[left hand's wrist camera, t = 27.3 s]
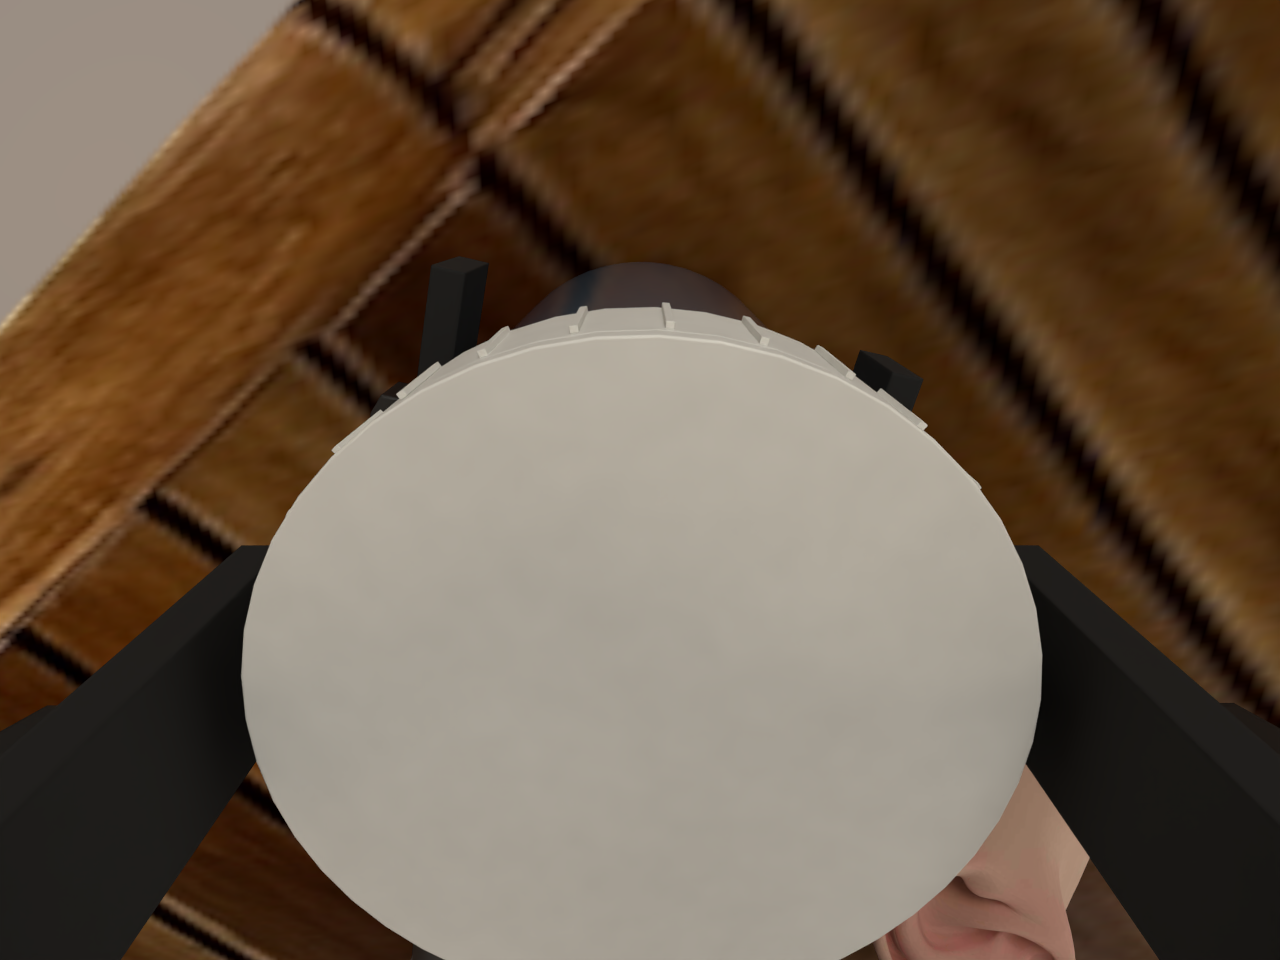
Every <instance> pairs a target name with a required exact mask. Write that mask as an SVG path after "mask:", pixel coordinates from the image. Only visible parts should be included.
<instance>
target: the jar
mask: <svg viewBox="0 0 1280 960" xmlns="http://www.w3.org/2000/svg"><path fill="white" fill-rule="evenodd" d="M662 303H670V306H671V309H679V310H689V311H699V312H707V313H711V314H715V315H719V316H723V317H727V318H731V319H736V320H740V321H742V318H743V316H747V317H750V318H751V319H752V320H753V321H754V322H755V323H756V324H757V325H758V326H760V327H763V328H766V329H768V328H767V327H766V326H765V325H764V324H763V323H762V322H761V321H760V320H759V319H758V318H757V317H756V316H755V315H754V314H753V313H752V312H751V311H750V310H749V309H748V308H747V307H746V306H745V305H744V304H743V303H742V302H741V301H740V300H739V299H738V298H737V297H736V296H734V295H733V294H732V293H730V292H729V291H728V290H726V289H725V288H724V287H722V286H721V285H719V284H717V283H716V282H714V281H712V280H710V279H708V278H707V277H705V276H703V275H700V274H697V273H695V272H692V271H690V270H687V269H684V268H680V267H676V266H672V265H668V264H660V263H650V262H633V263H621V264H615V265H610V266H605V267H601V268H598V269H595V270H592V271H589V272H586V273H584V274H582V275H580V276H577V277H575V278H573V279H571V280H569V281H567V282H566V283H564V284H563V285H561V286H560V287H558V288H557V289H555V290H554V291H552V292H551V293H550V294H549V295H547V296H546V297H545V298H544V299H543V300H542V301H541V302H539V303H538V304H537V305H536V306H535V307H534V308H533V309H532V310H531V311H530V312H529V313H528V314H527V315H526V316H525V317H524V318H523V319H522V320H521V321H520V322H519V323H518V324H517V325H516V327H515V328H514V329H518V328H521V327H524V326H527V325H531V324H534V323H537V322H540V321H543V320H547V319H550V318H553V317H557V316H563V315H569V314H575V313H577V311H578V309H579V308H580V307H582V306H587V308H588V311H594V310H600V309H609V308H641V307H659V308H662ZM514 329H513V330H514ZM768 330H769V329H768Z"/></svg>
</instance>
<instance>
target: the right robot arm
mask: <svg viewBox="0 0 1280 960" xmlns="http://www.w3.org/2000/svg"><path fill="white" fill-rule="evenodd" d="M488 265H489V263H486V262H482V261H477V260H473V259H469V258H464V257H460V256H459V257H456V258H452V259H449V260H446V261H443V262H440V263H437V264H433V265H431V273H430V281H429V289H428V297H427V304H426V312H425V320H424V328H423V336H422V344H421V352H420V360H419V368H418V376H419V375H421V374H422V373H423V372H424V371H426V370H427V369H428V368H429V367H431V366H432V365H433V364H435V363H436V362H439V364H440V365H441V367H442V366H443V365H445V364H446V363H448V362H449V361H451V360H453V359H454V358H456V357H457V356H459V355H460V354H462V353H463V352H465V351H467V350H469V349H471V348H474V347H476V344H477V337H478V331H479V324H480V318H481V311H482V305H483V298H484V291H485V285H486V278H487V272H488ZM853 372H854V373H855V374H856V375H855V376H856V377H857V378H859V379H860V380H861V381H862V382H864V383H865V384H866V385H868V386H869V387H870V388H872V389H873V390H874V391H876V392H878V391H879V390H880V389H883V390H884V391H885V392H886V393H888V394H889V395H890V396H891V397H893V398H894V399H895V400H897V401H898V402H899V403H900V404H902V405H903V406H904V407H906V408H907V409H908V410H909V411H911V412H912V409H913V406H914V403H915V401H916V398H917V395H918V393H919V390H920V387H921V384H922V382H923V379H922V378H921V377H919V376H917V375H916V374H914V373H913V372H911V371H910V370H908V369H906V368H905V367H903V366H902V365H900V364H898V363H897V362H895V361H894V360H892V359H891V358H889V357H887V356H884V355H879V354H875V353H871V352H867V351H862V350H860V352H859V355H858V358H857V361H856V364H855V367H854V370H853ZM418 376H417V377H418ZM407 385H408V384H406V383H402V382H398V383H397V384H395V385H394V386H393V387H391V388H390V389H389V390H387V391H386V392H385V393H383V394H382V395H381V396H380V398H379V400H378V402H377V403H376V405H375V407H374V408H373V410H372V412H371V417H372V416H373V415H374V414H375V413H377V412H378V411H379V410H382V411H383V412H384V411H385V410H386V409H387V408H389V407H390V406H391V405H392V404H393V403H395V402H396V401H397V400H398V399H399V397H398V396H397V395H396V394H397V393H398V392H399V391H401V390H402V389H403V388H404V387H406V386H407ZM371 417H370V418H371ZM411 960H444V959H442V958H440V957H438V956H436V955H434V954H432V953H429V952H427V951H425V950H423V949H421V948H420V947H418V946H416V945H415V944H413V950H412V957H411Z"/></svg>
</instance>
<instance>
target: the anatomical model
mask: <svg viewBox="0 0 1280 960" xmlns="http://www.w3.org/2000/svg"><path fill="white" fill-rule="evenodd" d="M1089 858H1090V857H1089V856H1088V854H1087V853H1086V852H1085V850H1084V849H1083V847H1082V846H1081V844H1080V843H1079V841H1078V840H1077V838H1076V837H1075V835H1074V834H1073V833H1072V831H1071V830H1070V828H1069V827H1068V825H1067V824H1066V822H1065V821H1064V819H1063V818H1062V816H1061V815H1060V813H1059V812H1058V811H1057V809H1056V808H1055V806H1054V805H1053V803H1052V802H1051V800H1050V799H1049V797H1048V796H1047V794H1046V793H1045V792H1044V790H1043V789H1042V787H1041V786H1040V784H1039V783H1038V781H1037V780H1036V778H1035V777H1034V775H1033V774H1032V772H1031V771H1030V770H1029V768H1028V767H1027V765H1026V764H1025V766H1024V769H1023V772H1022V775H1021V778H1020V781H1019V783H1018V785H1017V787H1016V789H1015V791H1014V793H1013V795H1012V797H1011V799H1010V801H1009V803H1008V804H1007V806H1006V808H1005V810H1004V812H1003V814H1002V816H1001V818H1000V820H999V821H998V823H997V824H996V826H995V827H994V829H993V830H992V831H991V833H990V834H989V836H988V837H987V839H986V840H985V841H984V843H983V844H982V846H981V847H980V848H979V850H978V851H977V853H976V854H975V856H974V857H973V858H972V859H971V860H970V861H969V862H968V863H967V864H966V865H965V866H964V868H963V869H962V870H961V871H960V872H959V873H958V874H957V875H956V876H955V877H954V879H953V880H952V881H951V882H950V883H949V884H948V885H947V886H946V887H945V888H944V889H943V890H942V891H941V892H939V893H938V894H937V895H936V896H935V897H934V898H932V899H931V900H930V901H929V902H928V903H927V904H926V905H924V906H923V907H922V908H921V909H920V910H919V911H917V912H916V913H915V914H914V915H913V916H911V917H910V918H908V919H907V920H905V921H904V922H902V923H901V924H899V925H898V926H897V927H895V928H894V929H892V930H891V931H889V932H888V933H886V934H885V935H883V936H882V937H881V938H879V939H877V940H876V941H874V942H873V945H874V948H875V951H876V953H877V956H878V958H879V960H1075V951H1074V946H1073V940H1072V935H1071V930H1070V926H1069V922H1068V918H1067V915H1066V911H1065V910H1066V908H1067V906H1068V904H1069V902H1070V899H1071V897H1072V895H1073V893H1074V891H1075V889H1076V887H1077V885H1078V883H1079V880H1080V878H1081V876H1082V874H1083V871H1084V869H1085V867H1086V865H1087V862H1088V860H1089Z"/></svg>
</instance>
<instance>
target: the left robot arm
mask: <svg viewBox="0 0 1280 960" xmlns="http://www.w3.org/2000/svg"><path fill="white" fill-rule="evenodd" d="M1014 547H1015V549H1016V551H1017V553H1018V555H1019V557H1020V559H1021V562H1022V564H1023V567H1024V570H1025V573H1026V577H1027V580H1028V583H1029V587H1030V590H1031V593H1032V597H1033V600H1034V603H1035V606H1036V611H1037V619H1038V627H1039V634H1040V642H1041V649H1042V682H1041V702H1040V707H1039V713H1038V718H1037V723H1036V729H1035V734H1034V739H1033V743H1032V746H1031V749H1030V752H1029V755H1028V758H1027V761H1026V763H1025V764H1026V765H1027V767H1028V768H1029V770H1030V771H1031V772H1032V774H1033V775H1034V777H1035V778H1036V780H1037V781H1038V783H1039V784H1040V786H1041V787H1042V789H1043V790H1044V792H1045V793H1046V794H1047V796H1048V797H1049V799H1050V800H1051V802H1052V803H1053V805H1054V806H1055V808H1056V809H1057V811H1058V812H1059V813H1060V815H1061V816H1062V818H1063V819H1064V821H1065V822H1066V824H1067V825H1068V827H1069V828H1070V830H1071V831H1072V833H1073V834H1074V835H1075V837H1076V838H1077V840H1078V841H1079V843H1080V844H1081V846H1082V847H1083V849H1084V850H1085V852H1086V853H1087V854H1088V856H1089V857H1090V859H1091V860H1092V862H1093V863H1094V865H1095V866H1096V868H1097V869H1098V871H1099V872H1100V874H1101V875H1102V876H1103V878H1104V879H1105V881H1106V882H1107V884H1108V885H1109V887H1110V888H1111V890H1112V891H1113V893H1114V894H1115V895H1116V897H1117V898H1118V900H1119V901H1120V903H1121V904H1122V906H1123V907H1124V909H1125V910H1126V912H1127V913H1128V915H1129V916H1130V917H1131V919H1132V920H1133V922H1134V923H1135V925H1136V926H1137V928H1138V929H1139V931H1140V932H1141V934H1142V935H1143V936H1144V938H1145V939H1146V941H1147V942H1148V944H1149V945H1150V947H1151V948H1152V950H1153V951H1154V953H1155V954H1156V956H1157V957H1158V958H1159V960H1280V728H1278V727H1276V726H1274V725H1273V724H1271V723H1269V722H1267V721H1265V720H1264V719H1262V718H1260V717H1258V716H1256V715H1255V714H1253V713H1251V712H1249V711H1247V710H1245V709H1244V708H1242V707H1240V706H1238V705H1236V704H1235V703H1219V702H1218V701H1217V700H1215V699H1214V698H1213V697H1212V696H1211V695H1210V694H1209V693H1207V692H1206V691H1205V690H1204V689H1203V688H1202V687H1200V686H1199V685H1198V684H1197V683H1196V682H1195V681H1194V680H1192V679H1191V678H1190V677H1189V676H1188V675H1187V674H1186V673H1184V672H1183V671H1182V670H1181V669H1180V668H1179V667H1177V666H1176V665H1175V664H1174V663H1173V662H1172V661H1171V660H1169V659H1168V658H1167V657H1166V656H1165V655H1164V654H1163V653H1161V652H1160V651H1159V650H1158V649H1157V648H1156V647H1154V646H1153V645H1152V644H1151V643H1150V642H1149V641H1148V640H1146V639H1145V638H1144V637H1143V636H1142V635H1141V634H1139V633H1138V632H1137V631H1136V630H1135V629H1134V628H1133V627H1131V626H1130V625H1129V624H1128V623H1127V622H1126V621H1125V620H1123V619H1122V618H1121V617H1120V616H1119V615H1118V614H1116V613H1115V612H1114V611H1113V610H1112V609H1111V608H1110V607H1108V606H1107V605H1106V604H1105V603H1104V602H1103V601H1102V600H1100V599H1099V598H1098V597H1097V596H1096V595H1095V594H1093V593H1092V592H1091V591H1090V590H1089V589H1088V588H1087V587H1085V586H1084V585H1083V584H1082V583H1081V582H1080V581H1079V580H1077V579H1076V578H1075V577H1074V576H1073V575H1072V574H1070V573H1069V572H1068V571H1067V570H1066V569H1065V568H1064V567H1062V566H1061V565H1060V564H1059V563H1058V562H1057V561H1056V560H1054V559H1053V558H1052V557H1051V556H1050V555H1049V554H1047V553H1046V552H1045V551H1044V550H1043V549H1042V548H1041V547H1039V546H1014ZM268 549H269V546H241V547H239V548H238V549H237V550H236V551H235V552H234V553H233V554H231V555H230V556H229V557H228V558H227V559H226V560H224V561H223V562H222V563H221V564H220V565H219V566H218V567H216V568H215V569H214V570H213V571H212V572H211V573H210V574H208V575H207V576H206V577H205V578H204V579H203V580H201V581H200V582H199V583H198V584H197V585H196V586H195V587H193V588H192V589H191V590H190V591H189V592H188V593H187V594H185V595H184V596H183V597H182V598H181V599H180V600H178V601H177V602H176V603H175V604H174V605H173V606H172V607H170V608H169V609H168V610H167V611H166V612H165V613H164V614H162V615H161V616H160V617H159V618H158V619H157V620H155V621H154V622H153V623H152V624H151V625H150V626H149V627H147V628H146V629H145V630H144V631H143V632H142V633H140V634H139V635H138V636H137V637H136V638H135V639H134V640H132V641H131V642H130V643H129V644H128V645H127V646H126V647H124V648H123V649H122V650H121V651H120V652H119V653H117V654H116V655H115V656H114V657H113V658H112V659H111V660H109V661H108V662H107V663H106V664H105V665H104V666H103V667H101V668H100V669H99V670H98V671H97V672H96V673H94V674H93V675H92V676H91V677H90V678H89V679H88V680H86V681H85V682H84V683H83V684H82V685H81V686H80V687H78V688H77V689H76V690H75V691H74V692H73V693H71V694H70V695H69V696H68V697H67V698H66V699H65V700H63V701H62V702H61V703H60V704H59V705H58V706H46V707H44V708H42V709H40V710H38V711H37V712H35V713H33V714H31V715H29V716H28V717H26V718H24V719H22V720H20V721H19V722H17V723H15V724H13V725H11V726H9V727H8V728H6V729H4V730H2V731H1V732H0V960H121V958H122V957H123V955H124V954H125V953H126V951H127V950H128V948H129V947H130V945H131V944H132V942H133V941H134V939H135V938H136V936H137V935H138V934H139V932H140V931H141V929H142V928H143V926H144V925H145V923H146V922H147V920H148V919H149V917H150V916H151V914H152V913H153V912H154V910H155V909H156V907H157V906H158V904H159V903H160V901H161V900H162V898H163V897H164V895H165V894H166V893H167V891H168V890H169V888H170V887H171V885H172V884H173V882H174V881H175V879H176V878H177V876H178V875H179V873H180V872H181V871H182V869H183V868H184V866H185V865H186V863H187V862H188V860H189V859H190V857H191V856H192V854H193V853H194V852H195V850H196V849H197V847H198V846H199V844H200V843H201V841H202V840H203V838H204V837H205V835H206V834H207V832H208V831H209V830H210V828H211V827H212V825H213V824H214V822H215V821H216V819H217V818H218V816H219V815H220V813H221V812H222V811H223V809H224V808H225V806H226V805H227V803H228V802H229V800H230V799H231V797H232V796H233V794H234V793H235V792H236V790H237V789H238V787H239V786H240V784H241V783H242V781H243V780H244V778H245V777H246V775H247V774H248V772H249V771H250V770H251V768H252V767H253V765H254V764H255V762H256V758H255V754H254V750H253V746H252V742H251V738H250V735H249V731H248V727H247V723H246V719H245V709H244V699H243V689H242V679H241V671H242V653H243V636H244V627H245V623H246V618H247V614H248V609H249V605H250V600H251V596H252V591H253V587H254V583H255V581H256V578H257V576H258V573H259V571H260V568H261V566H262V564H263V561H264V559H265V556H266V554H267V551H268Z"/></svg>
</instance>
